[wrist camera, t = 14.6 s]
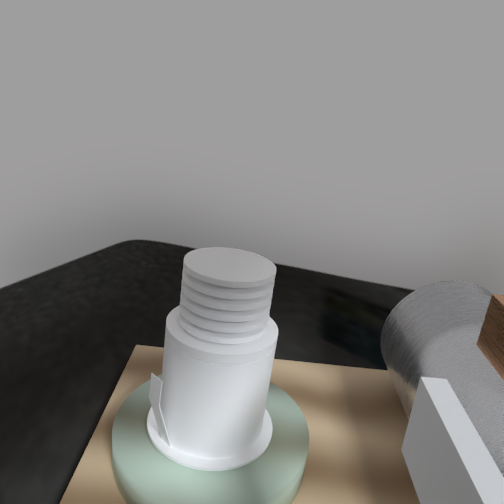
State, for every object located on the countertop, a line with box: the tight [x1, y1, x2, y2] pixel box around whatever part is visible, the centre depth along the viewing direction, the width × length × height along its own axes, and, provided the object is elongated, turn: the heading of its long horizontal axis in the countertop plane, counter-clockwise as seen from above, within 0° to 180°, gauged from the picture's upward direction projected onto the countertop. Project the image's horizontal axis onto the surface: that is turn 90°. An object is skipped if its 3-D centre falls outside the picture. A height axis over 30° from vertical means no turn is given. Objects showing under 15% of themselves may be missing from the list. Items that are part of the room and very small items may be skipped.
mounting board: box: [60, 345, 420, 504], centre depth 27 cm, size 20×27×4 cm
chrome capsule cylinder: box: [381, 281, 504, 477], centre depth 26 cm, size 18×9×12 cm, turn 178°
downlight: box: [147, 247, 278, 471], centre depth 25 cm, size 8×7×10 cm
